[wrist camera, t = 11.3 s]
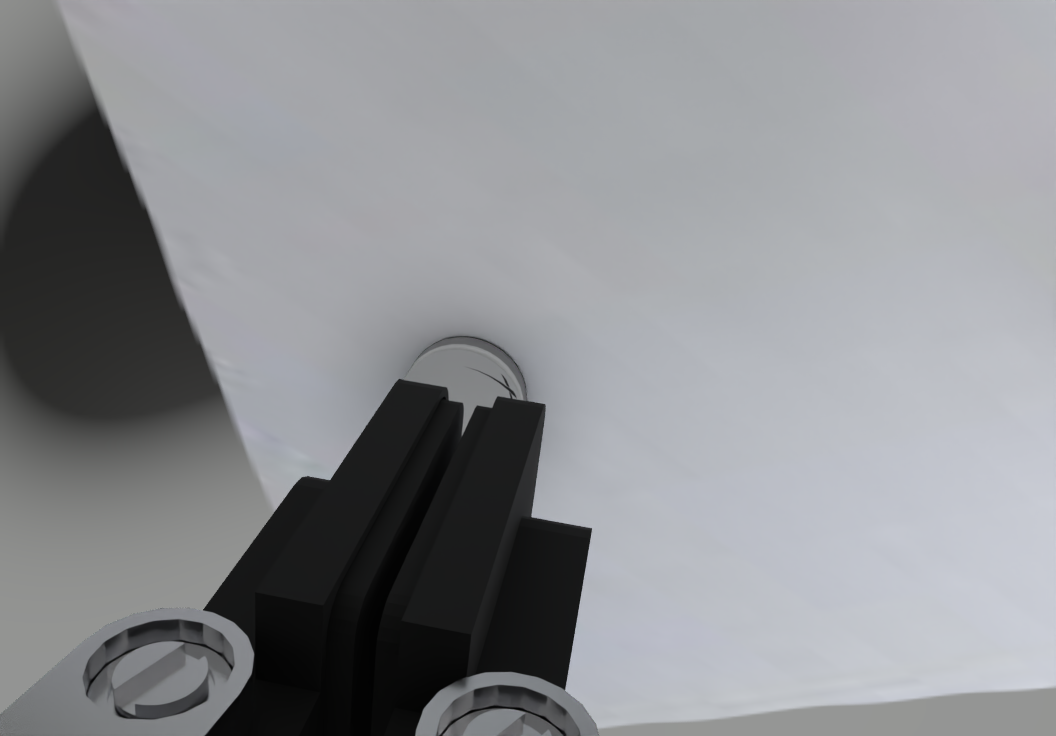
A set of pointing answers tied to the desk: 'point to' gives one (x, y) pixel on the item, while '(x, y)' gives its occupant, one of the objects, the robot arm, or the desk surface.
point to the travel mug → (469, 373)
